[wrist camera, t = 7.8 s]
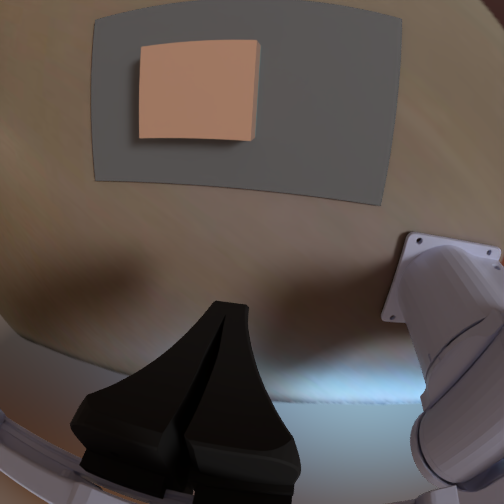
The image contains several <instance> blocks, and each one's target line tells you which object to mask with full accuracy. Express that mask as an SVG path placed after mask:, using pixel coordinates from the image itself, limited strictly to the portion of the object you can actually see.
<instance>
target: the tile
mask: <svg viewBox="0 0 504 504" xmlns="http://www.w3.org/2000/svg"><path fill="white" fill-rule="evenodd" d="M260 56H261V45H260V44H259V42H258V41H257V40H204V41H188V42H176V43H167V44H158V45H150V46H143V47H141V58H140V82H139V138H200V139H225V140H242V141H251V140H253V139H254V138H255V135H256V119H257V103H258V88H259V72H260Z"/></svg>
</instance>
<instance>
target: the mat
mask: <svg viewBox="0 0 504 504" xmlns="http://www.w3.org/2000/svg"><path fill="white" fill-rule="evenodd" d="M204 40H257V41H258V42H259V44H260V45H261V56H260V72H259V88H258V103H257V119H256V135H255V138H254V139H253V140H251V141H242V140H225V139H200V138H139V82H140V58H141V47H143V46H150V45H158V44H167V43H176V42H188V41H204ZM401 41H402V19H400V18H396V17H393V16H389V15H385V14H381V13H377V12H372V11H368V10H363V9H358V8H353V7H347V6H341V5H335V4H328V3H321V2H312V1H303V0H197V1H188V2H179V3H172V4H165V5H159V6H153V7H147V8H142V9H137V10H132V11H128V12H123V13H119V14H115V15H111V16H107V17H104V18H100V19H97V20H95V27H94V38H93V52H92V73H91V122H92V145H93V159H94V171H95V181H131V182H155V183H174V184H191V185H205V186H218V187H231V188H242V189H253V190H263V191H273V192H282V193H291V194H299V195H307V196H315V197H323V198H331V199H338V200H345V201H352V202H359V203H365V204H372V205H378V206H381V202H382V197H383V192H384V187H385V181H386V176H387V170H388V164H389V159H390V152H391V146H392V139H393V132H394V124H395V116H396V108H397V99H398V88H399V76H400V62H401Z"/></svg>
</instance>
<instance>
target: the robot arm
mask: <svg viewBox="0 0 504 504" xmlns="http://www.w3.org/2000/svg"><path fill="white" fill-rule="evenodd" d="M418 238H421V240H420V241H419V242H416V240H417V239H418ZM488 250H489V252H488V253H487V251H488ZM500 255H501V250H500V248H499V247H496V246H491V245H486V244H481V243H475V242H470V241H465V240H459V239H453V238H448V237H442V236H436V235H430V234H424V233H418V232H410V233H409V234H408V235H407V236H406V239H405V243H404V246H403V250H402V253H401V257H400V260H399V263H398V266H397V270H396V273H395V276H394V279H393V282H392V285H391V288H390V291H389V294H388V296H387V299H386V302H385V305H384V308H383V310H382V313H381V318H382V320H383V321H385V322H399V323H406V325H407V328H408V330H409V333H410V336H411V339H412V342H413V345H414V348H415V351H416V354H417V357H418V360H419V364H420V367H421V370H422V373H423V377H424V380H425V383H426V389H425V391H424V393H423V394H422V395H421V396H420V398H421V402H422V406H423V410H424V412H423V413H422V414H421V415H419V417H418V418H417V419H416V421H415V422H414V425H413V427H412V430H411V437H410V446H411V451H412V456H413V459H414V462H415V464H416V466H417V468H418V469H419V471H420V472H421V474H422V475H423V476H424V477H425V478H426V479H427V480H428V481H429V482H430V483H431V484H433V485H435V486H436V487H438V488H439V489H435V490H431V491H428V492H426V493H423V494H421V495H420V496H418V497H417V498H416V499H412V500H407V501H401V502H394V503H388V504H504V267H503V266H502V265H501V263H500V262H499V261H498V260H499V258H500ZM248 312H249V307H248V306H247V305H245V304H237V303H229V302H221V301H215V302H213V303H212V305H211V306H210V307H209V309H208V310H207V311H206V312H205V313H204V315H203V316H202V317H201V318H200V319H199V320H198V321H197V323H196V324H195V325H194V326H193V327H192V328H191V329H190V330H189V331H188V332H187V333H186V334H185V335H184V336H183V337H182V338H181V339H180V340H179V341H177V342H176V343H175V344H174V345H173V346H172V347H171V348H170V349H169V350H167V351H166V352H165V353H164V354H162V355H161V356H160V357H158V358H157V359H156V360H154V361H153V362H151V363H150V364H149V365H147V366H146V367H144V368H143V369H141V370H139V371H138V372H136V373H134V374H133V375H131V376H129V377H127V378H125V379H123V380H121V381H120V382H118V383H116V384H114V385H111V386H109V387H107V388H104V389H102V390H99V391H97V392H94V393H91V394H88V395H87V396H86V397H85V399H84V400H83V402H82V403H81V405H80V406H79V408H78V410H77V412H76V414H75V415H74V417H73V419H72V421H71V423H70V426H71V430H72V431H73V433H74V434H75V436H76V437H77V438H78V439H79V440H80V442H81V443H82V444H83V445H84V446H85V447H86V451H85V453H84V456H83V458H80V457H77V456H75V455H73V454H71V453H69V452H67V451H65V450H63V449H61V448H59V447H57V446H55V445H53V444H51V443H49V442H48V441H46V440H44V439H42V438H40V437H38V436H37V435H35V434H33V433H31V432H30V431H28V430H26V429H25V428H23V427H21V426H20V425H18V424H17V423H15V422H13V421H12V420H10V419H9V418H7V417H6V415H5V414H4V413H3V411H2V410H1V409H0V470H1V471H2V472H3V473H4V474H6V475H8V476H9V477H10V478H11V479H13V480H14V481H15V482H17V483H18V484H20V485H22V486H23V487H24V488H26V489H27V490H29V491H30V492H32V493H33V494H35V495H36V496H38V497H40V498H41V499H43V500H45V501H46V502H48V503H50V504H137V503H134V502H131V501H128V500H126V499H123V498H120V497H118V496H115V495H112V494H110V493H107V492H105V491H103V490H102V489H101V487H99V486H97V485H100V486H102V487H104V488H107V489H109V490H112V491H115V492H117V493H120V494H122V495H125V496H128V497H131V498H134V499H137V500H140V501H143V502H146V503H149V504H291V502H292V496H293V493H294V484H295V482H296V480H297V479H298V477H299V476H300V473H301V464H300V458H299V454H298V451H297V447H296V444H295V441H294V438H293V436H292V435H291V434H290V432H289V431H288V429H287V428H286V426H285V425H284V423H283V421H282V420H281V418H280V416H279V415H278V413H277V411H276V410H275V407H274V405H273V403H272V401H271V399H270V397H269V395H268V393H267V391H266V389H265V387H264V384H263V382H262V380H261V377H260V374H259V371H258V368H257V365H256V362H255V359H254V355H253V351H252V347H251V342H250V337H249V331H248ZM392 315H394V316H393V317H391V316H392ZM92 482H93V483H92ZM94 483H95V484H97V485H95V484H94ZM193 490H194V491H195V495H193Z"/></svg>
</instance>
